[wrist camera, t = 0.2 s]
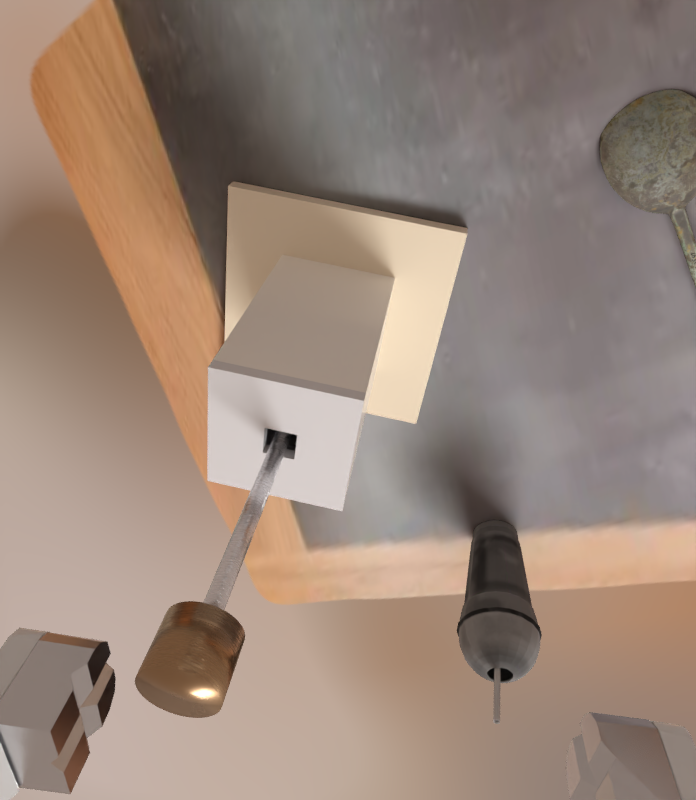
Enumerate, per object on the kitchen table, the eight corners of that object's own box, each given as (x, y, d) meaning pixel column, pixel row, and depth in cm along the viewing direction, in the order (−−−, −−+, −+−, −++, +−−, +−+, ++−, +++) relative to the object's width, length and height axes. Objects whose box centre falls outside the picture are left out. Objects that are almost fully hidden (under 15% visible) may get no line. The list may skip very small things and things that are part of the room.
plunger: (238, 361, 37) (84, 622, 22) (351, 385, 37) (269, 667, 22) (235, 447, 41) (103, 715, 26) (336, 469, 41) (258, 754, 26)
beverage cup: (474, 564, 66) (474, 756, 50) (448, 519, 63) (439, 709, 47) (541, 551, 63) (563, 750, 47) (517, 503, 60) (533, 699, 44)
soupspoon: (691, 63, 38) (584, 116, 41) (704, 70, 36) (589, 126, 38) (764, 347, 47) (672, 374, 50) (779, 370, 44) (681, 397, 47)
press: (233, 181, 46) (125, 278, 32) (467, 228, 45) (464, 349, 31) (227, 374, 57) (145, 512, 43) (417, 415, 56) (397, 570, 42)
